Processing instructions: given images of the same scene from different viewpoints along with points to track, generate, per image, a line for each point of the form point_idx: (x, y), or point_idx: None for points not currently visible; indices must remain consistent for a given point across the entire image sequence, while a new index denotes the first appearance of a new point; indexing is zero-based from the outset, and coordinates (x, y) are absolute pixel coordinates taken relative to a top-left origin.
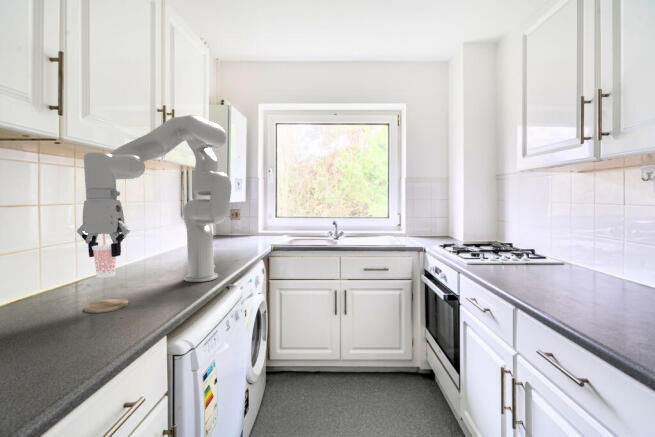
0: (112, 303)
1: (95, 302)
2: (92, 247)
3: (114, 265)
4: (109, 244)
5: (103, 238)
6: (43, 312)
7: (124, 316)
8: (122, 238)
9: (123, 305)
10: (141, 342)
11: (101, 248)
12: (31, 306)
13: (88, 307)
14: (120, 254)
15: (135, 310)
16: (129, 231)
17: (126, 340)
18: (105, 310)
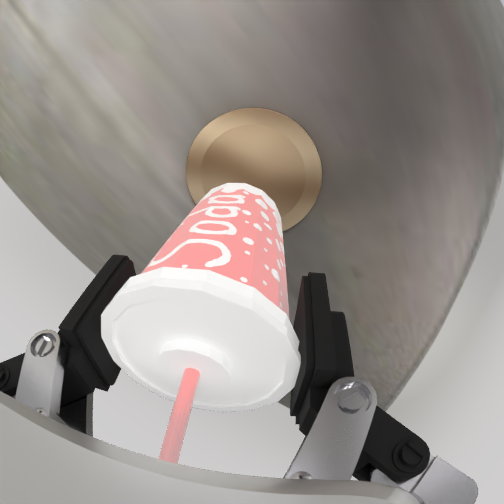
0: (272, 177)
1: (194, 156)
2: (153, 389)
3: (283, 249)
4: (164, 294)
5: (175, 434)
6: (105, 219)
7: (359, 263)
8: (389, 436)
9: (319, 188)
10: (420, 363)
11: (233, 402)
12: (40, 176)
13: None
14: (324, 276)
15: (371, 218)
16: (467, 484)
17: (399, 360)
18: (283, 229)
